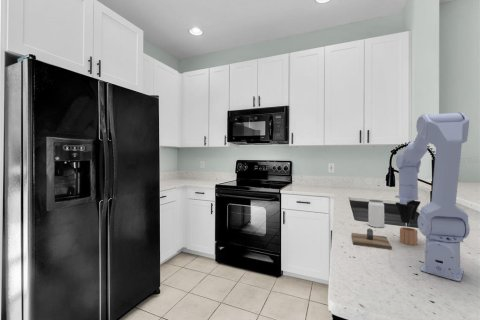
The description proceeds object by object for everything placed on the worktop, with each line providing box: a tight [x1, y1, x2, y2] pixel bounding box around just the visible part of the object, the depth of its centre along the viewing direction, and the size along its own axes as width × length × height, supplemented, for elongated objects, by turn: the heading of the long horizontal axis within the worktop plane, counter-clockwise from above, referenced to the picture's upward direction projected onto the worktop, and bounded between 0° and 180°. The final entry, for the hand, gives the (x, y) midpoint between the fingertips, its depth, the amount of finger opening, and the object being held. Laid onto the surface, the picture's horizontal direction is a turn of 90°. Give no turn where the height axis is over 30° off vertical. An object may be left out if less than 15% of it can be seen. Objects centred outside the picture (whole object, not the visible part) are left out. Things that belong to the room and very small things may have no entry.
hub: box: [399, 226, 418, 246], centre depth 86 cm, size 5×5×5 cm
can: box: [367, 199, 385, 228], centre depth 109 cm, size 6×6×12 cm
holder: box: [351, 228, 393, 250], centre depth 87 cm, size 12×12×5 cm
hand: (408, 221), depth 86 cm, fingers open, 7 cm apart
